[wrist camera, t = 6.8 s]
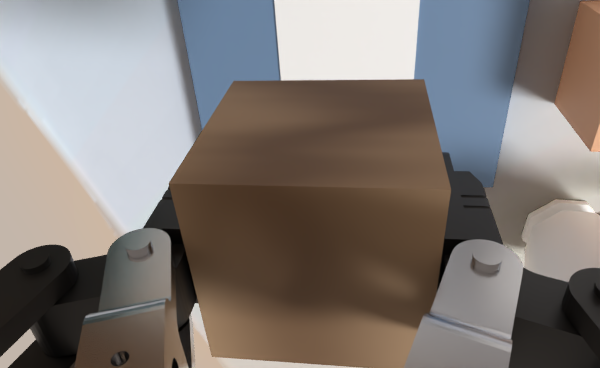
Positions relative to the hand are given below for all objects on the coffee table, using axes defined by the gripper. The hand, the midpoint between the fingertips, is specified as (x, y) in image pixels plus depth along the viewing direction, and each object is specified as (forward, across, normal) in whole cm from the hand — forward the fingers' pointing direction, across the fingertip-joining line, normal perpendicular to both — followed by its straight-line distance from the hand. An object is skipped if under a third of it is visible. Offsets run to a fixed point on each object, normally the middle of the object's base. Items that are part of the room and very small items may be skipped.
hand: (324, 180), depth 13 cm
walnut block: (+1, 0, 0) cm, 1 cm away
